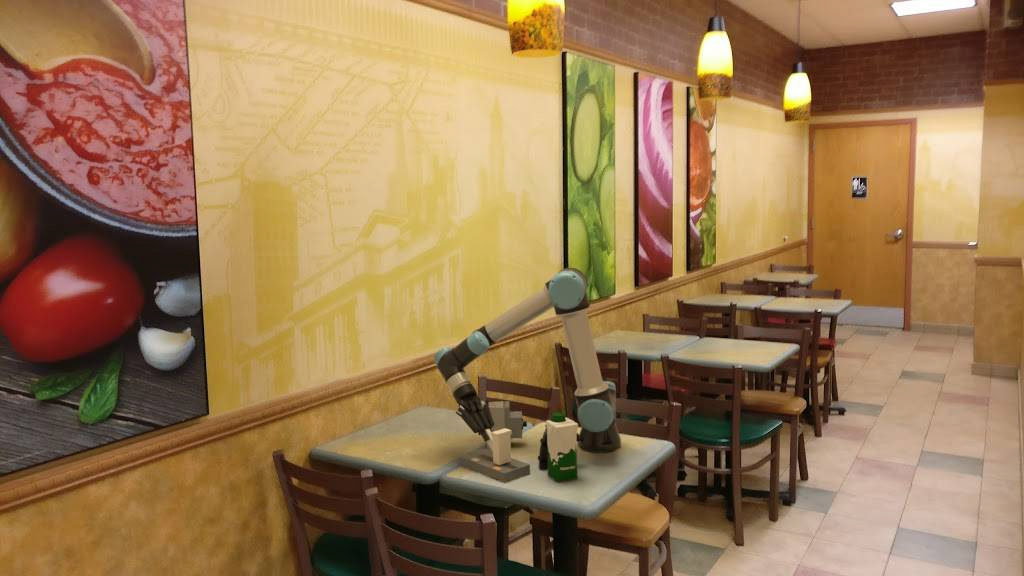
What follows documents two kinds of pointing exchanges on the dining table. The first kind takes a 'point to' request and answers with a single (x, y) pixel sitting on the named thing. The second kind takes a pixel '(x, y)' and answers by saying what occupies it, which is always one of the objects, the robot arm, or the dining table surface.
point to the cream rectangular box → (501, 446)
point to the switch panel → (495, 466)
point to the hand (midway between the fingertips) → (495, 448)
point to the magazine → (545, 451)
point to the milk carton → (562, 448)
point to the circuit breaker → (506, 419)
